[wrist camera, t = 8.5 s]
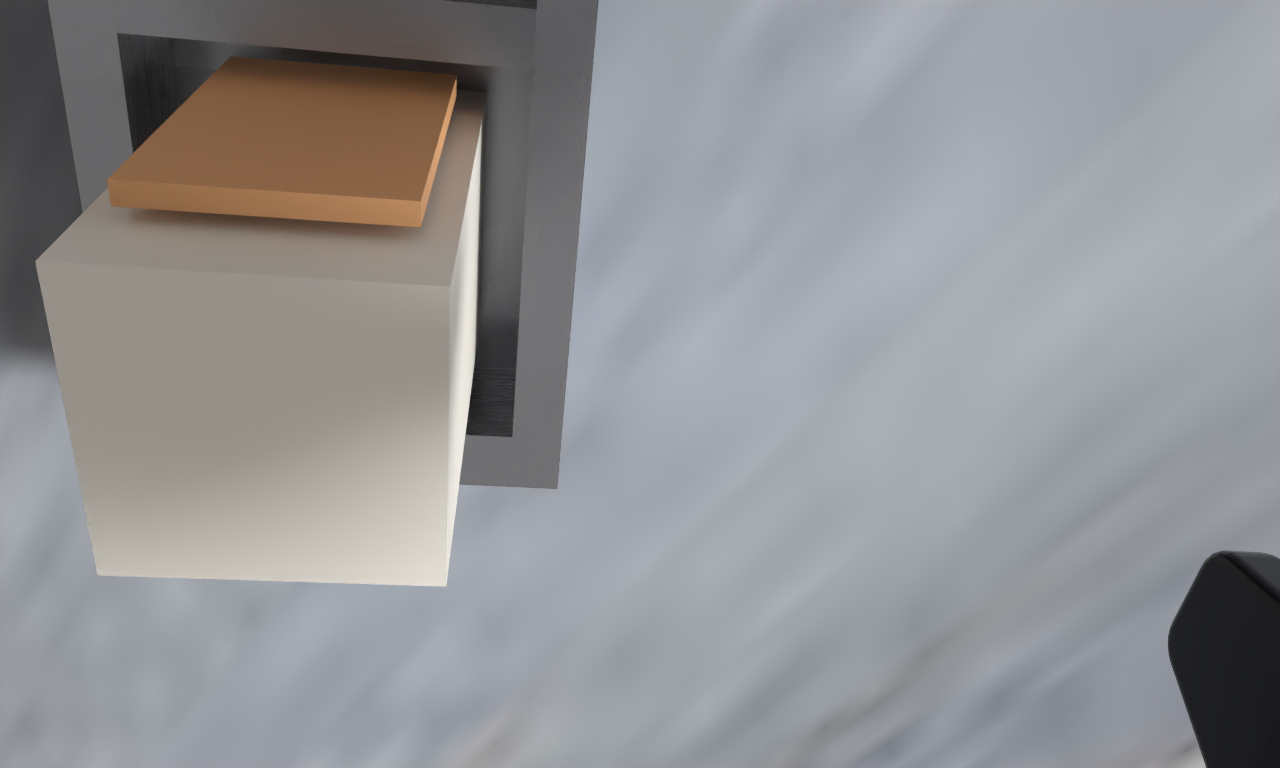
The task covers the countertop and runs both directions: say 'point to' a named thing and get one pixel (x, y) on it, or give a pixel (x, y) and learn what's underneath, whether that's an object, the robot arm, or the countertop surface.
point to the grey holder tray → (411, 41)
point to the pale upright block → (278, 329)
